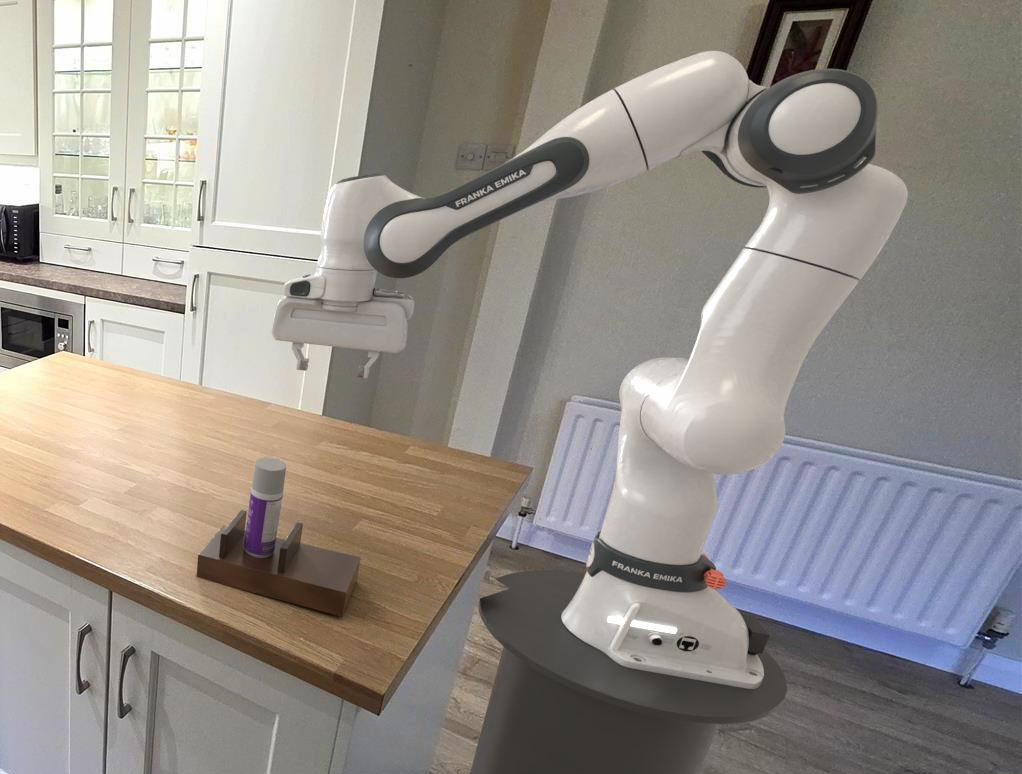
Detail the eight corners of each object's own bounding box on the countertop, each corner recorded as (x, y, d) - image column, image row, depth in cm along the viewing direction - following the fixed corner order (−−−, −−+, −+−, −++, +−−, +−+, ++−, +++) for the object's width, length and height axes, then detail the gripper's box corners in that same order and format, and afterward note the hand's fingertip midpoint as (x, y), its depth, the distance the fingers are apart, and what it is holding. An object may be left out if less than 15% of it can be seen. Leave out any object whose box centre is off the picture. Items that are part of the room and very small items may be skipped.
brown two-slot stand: (356, 579, 115) (364, 533, 112) (342, 616, 105) (350, 567, 102) (221, 546, 125) (225, 503, 122) (196, 577, 116) (199, 531, 113)
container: (237, 545, 116) (248, 460, 110) (261, 539, 118) (273, 454, 111) (255, 560, 113) (267, 473, 106) (280, 554, 114) (293, 467, 108)
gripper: (419, 289, 112) (403, 377, 117) (283, 279, 121) (274, 361, 126) (414, 294, 106) (398, 386, 111) (273, 283, 116) (264, 369, 121)
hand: (331, 373), depth 119 cm, fingers open, 8 cm apart
